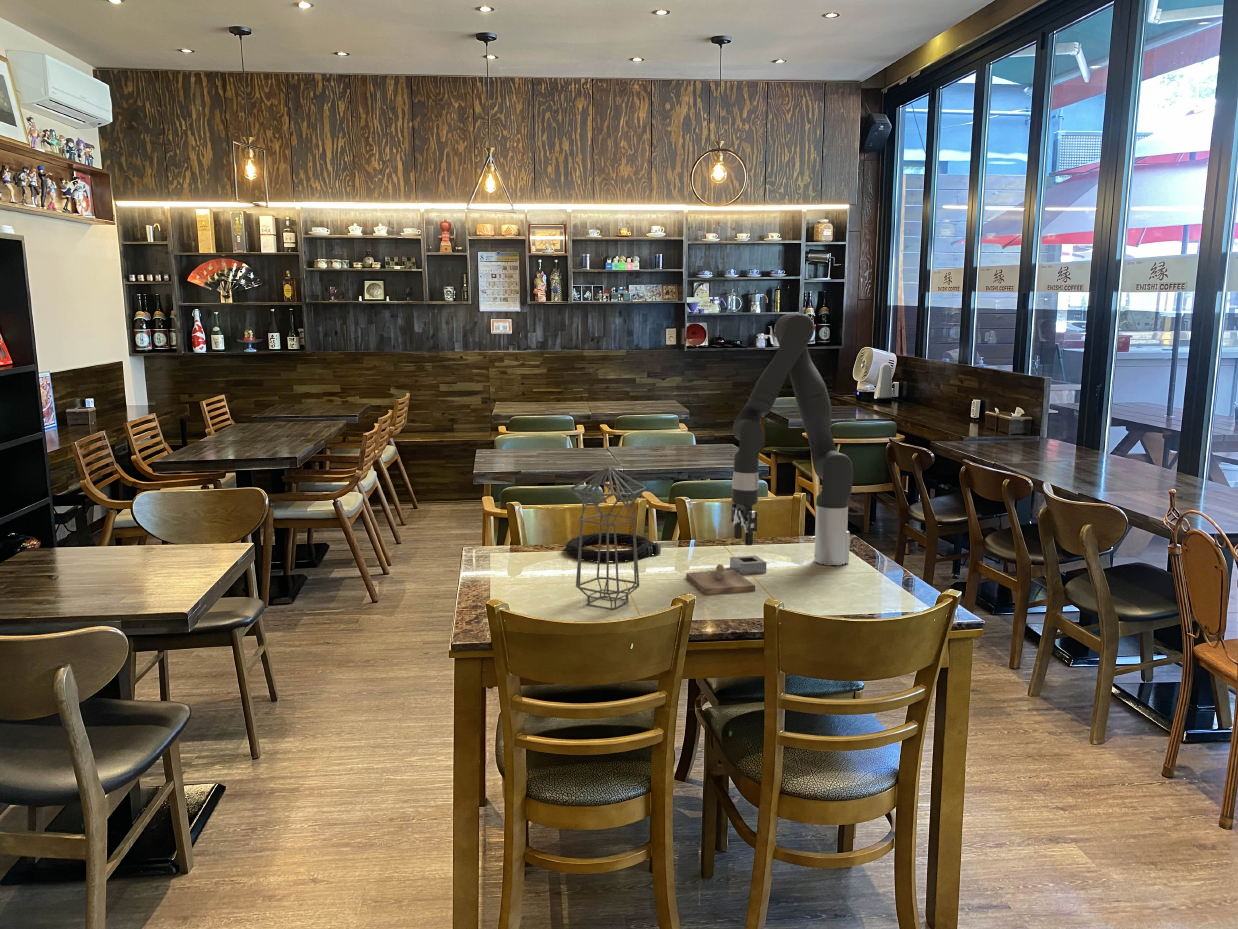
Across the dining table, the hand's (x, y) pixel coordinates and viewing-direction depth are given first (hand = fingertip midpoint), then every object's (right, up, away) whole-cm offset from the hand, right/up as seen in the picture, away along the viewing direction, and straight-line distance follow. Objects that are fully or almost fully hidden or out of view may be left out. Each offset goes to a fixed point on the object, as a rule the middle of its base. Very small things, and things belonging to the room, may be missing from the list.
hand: (742, 541), depth 259 cm
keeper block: (-9, -10, -16) cm, 21 cm away
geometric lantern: (-39, -13, -32) cm, 52 cm away
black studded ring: (-38, -5, +19) cm, 43 cm away
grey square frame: (+1, -8, -2) cm, 8 cm away
